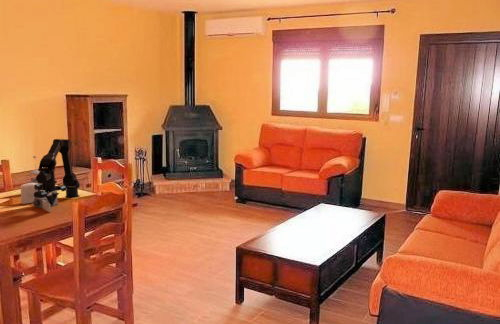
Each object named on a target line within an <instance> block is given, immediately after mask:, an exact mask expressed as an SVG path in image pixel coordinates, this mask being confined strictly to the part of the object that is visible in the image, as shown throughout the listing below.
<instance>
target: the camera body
mask: <svg viewBox="0 0 500 324" xmlns="http://www.w3.org/2000/svg"><path fill="white" fill-rule="evenodd" d="M42 200H44V201H46V202H48V203H49V201H48V200H47V198H46V197H44V198H37V197H35V198H34V201H33V203H32V204H33V206H34V207H35V208H39V209H42V210H44V209H43V207H42ZM58 205H59V199H58V196H57V197H56V199H55V201H54V204H53V206H51V205H50V208H51V207H55V206H58Z"/></svg>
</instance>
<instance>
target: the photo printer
mask: <svg viewBox="0 0 500 324" xmlns="http://www.w3.org/2000/svg"><path fill="white" fill-rule="evenodd" d="M36 184H37V183H30V182H29V183H28V182H26V183H24V184H21V185H20V201H21V204H22V205H25V204H26V205H27V204H33V201H34V198H35V197H34V193H35V192H37V191H38V190H35V188H34V185H36Z"/></svg>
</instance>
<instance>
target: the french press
mask: <svg viewBox="0 0 500 324" xmlns="http://www.w3.org/2000/svg"><path fill="white" fill-rule="evenodd" d="M32 158H34V159H36V158H37V156H36V155H33V156H32ZM34 165H35V166H34V167H35V169H34V170H31V171H30V172H29V174H28V175H27V176H26V177H25V179H26V180H25V181H26V183H37V184H39V185H41V184H40V183H38V182H37V180H36V177H37V176H35V177H32V175H38V174H39V172H40V171H38V169H37V167H36V164H34ZM29 177H31V178H30V181H29V180H28V178H29ZM40 191H42V190H40Z"/></svg>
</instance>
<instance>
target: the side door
mask: <svg viewBox="0 0 500 324" xmlns="http://www.w3.org/2000/svg"><path fill="white" fill-rule="evenodd" d="M42 207H43V209H42V210H44V211H45V210H46V211H47V212H49V213H51V211H52V210H51V207H50V203H48V202H46V201H44V200H42Z"/></svg>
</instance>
